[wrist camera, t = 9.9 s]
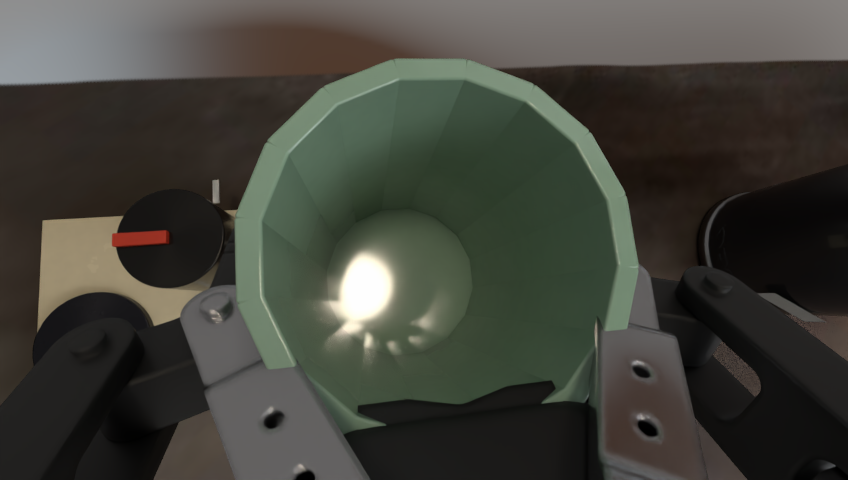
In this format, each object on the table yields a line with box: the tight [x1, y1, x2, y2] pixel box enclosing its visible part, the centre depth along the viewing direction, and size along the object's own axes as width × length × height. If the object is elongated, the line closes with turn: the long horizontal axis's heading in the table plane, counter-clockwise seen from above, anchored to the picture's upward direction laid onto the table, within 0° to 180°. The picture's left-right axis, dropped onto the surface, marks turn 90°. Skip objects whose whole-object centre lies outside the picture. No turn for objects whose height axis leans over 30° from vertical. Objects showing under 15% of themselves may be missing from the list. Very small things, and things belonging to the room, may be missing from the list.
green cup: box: [234, 59, 639, 434], centre depth 11 cm, size 6×6×10 cm
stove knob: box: [112, 189, 235, 291], centre depth 20 cm, size 4×4×6 cm
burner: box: [33, 292, 154, 366], centre depth 21 cm, size 6×6×1 cm
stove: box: [37, 180, 237, 332], centre depth 23 cm, size 13×12×3 cm
